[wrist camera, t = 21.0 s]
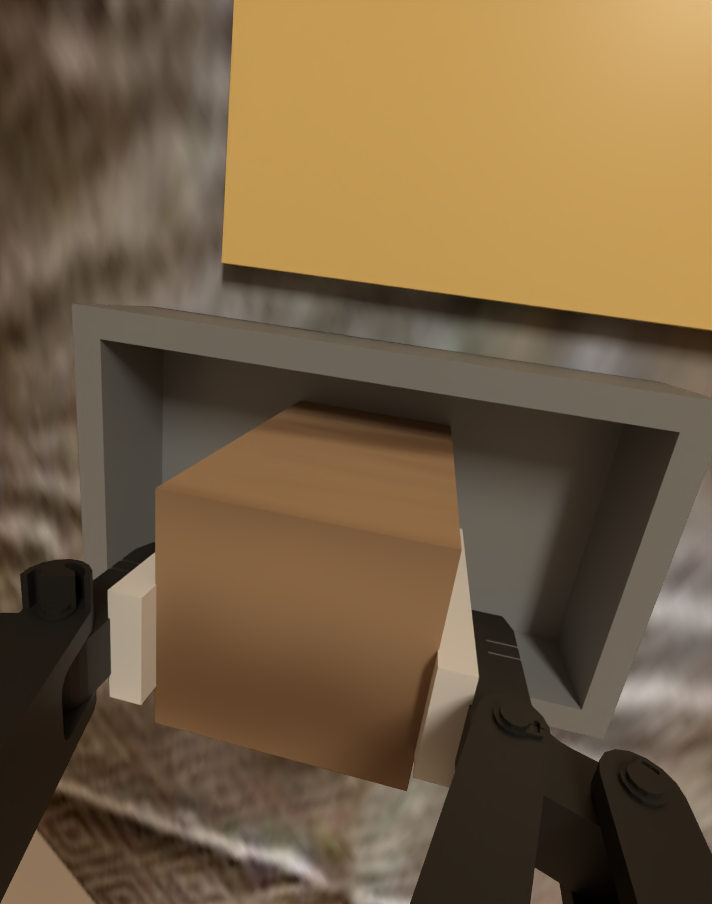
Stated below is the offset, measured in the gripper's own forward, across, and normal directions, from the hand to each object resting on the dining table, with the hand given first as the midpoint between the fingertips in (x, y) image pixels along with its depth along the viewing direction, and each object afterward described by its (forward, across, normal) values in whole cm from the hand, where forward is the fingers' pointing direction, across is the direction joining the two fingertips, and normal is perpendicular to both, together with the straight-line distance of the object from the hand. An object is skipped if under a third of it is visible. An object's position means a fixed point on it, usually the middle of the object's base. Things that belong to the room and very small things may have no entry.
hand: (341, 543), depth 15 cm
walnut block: (+4, 0, +1) cm, 4 cm away
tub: (+5, 0, 0) cm, 5 cm away
